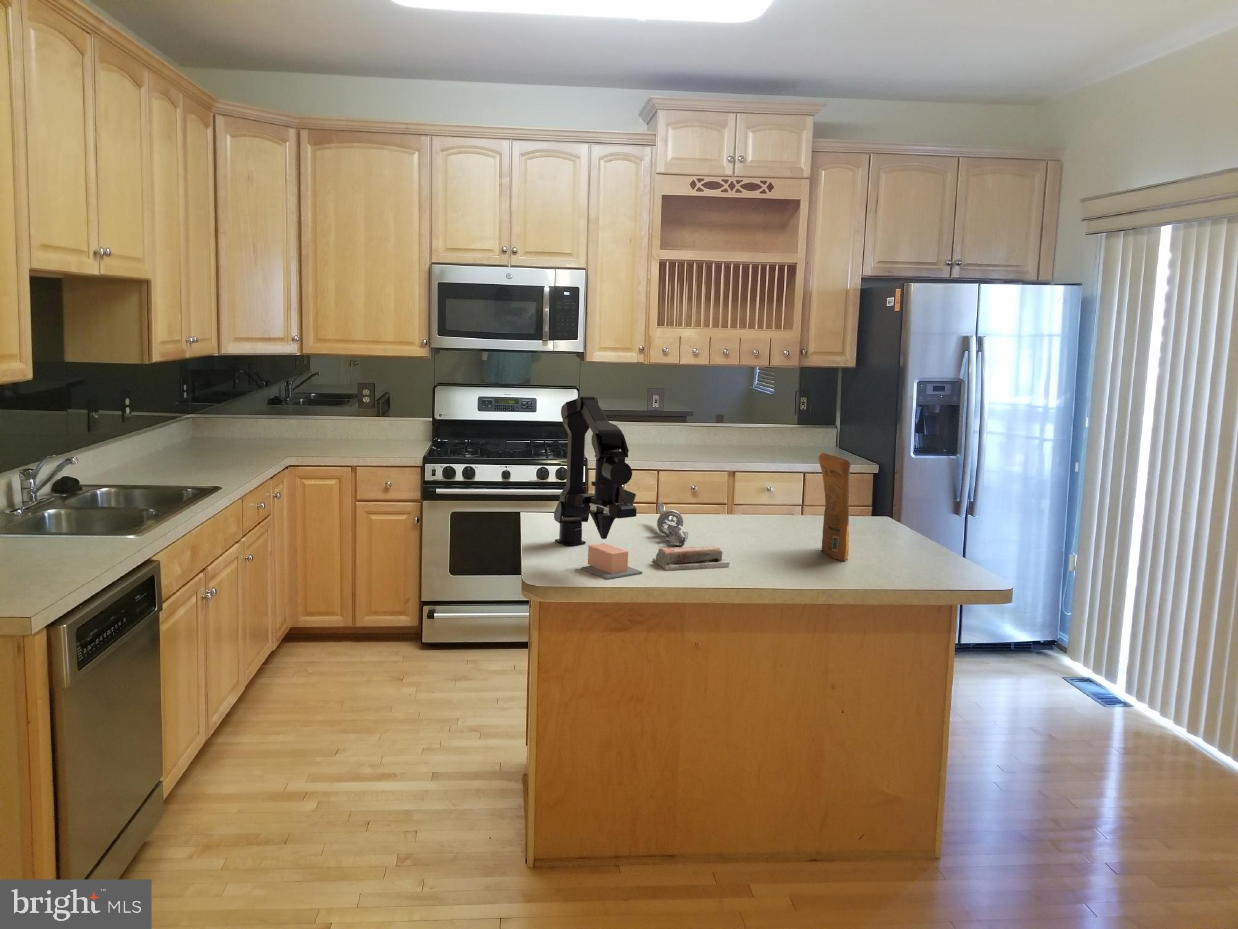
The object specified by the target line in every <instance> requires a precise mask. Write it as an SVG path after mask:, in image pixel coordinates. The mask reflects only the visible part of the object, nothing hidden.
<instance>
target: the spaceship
mask: <svg viewBox="0 0 1238 929" xmlns="http://www.w3.org/2000/svg"><path fill="white" fill-rule="evenodd" d="M656 506H657V507H656V508H657V509H656V510H657V513H658V514H659V516H658V518H657V519H656V520H657V521H656V527H657V530H658V532H660V533H661V534H662V535H664V536H667V537H668V538H667V539H668V541H669V542H670V543H671V542H672V543H674V544H677V545H679V547H685V543H686V542H688V537H689V532H688V531H687V530H686V528H684V527H683V526H684V518H683V516H682V514H681V513H680V512H678V511H676V510H673V509H668V510H666V508H665V505H664V503H663V502H658V503H657V505H656ZM674 518H675V519H674ZM665 527H666V528H665ZM681 530H682V531H681Z"/></svg>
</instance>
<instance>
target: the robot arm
mask: <svg viewBox="0 0 1238 929" xmlns="http://www.w3.org/2000/svg"><path fill="white" fill-rule="evenodd" d="M560 417H561V418H562V425H563V426H564V429H565V431H566V432H567V454H566V475H565V476H566V479H565V481H566V482H565V486H564V488H563V489H562V491H561V493H559V501H558V502H557V505H556V507H555V509H554V511H553V518H554V521H555V522H557V523H558V524H559V533H558V534H559V536H558V537H559V538H556V539H554V542H555V543H559V544H560V545H564V546H566V547H567V546H568V547H569V546H579V545H582V544H583V545H584V544H587V542H586V541H585V540H583V523H588V521H589V518H590V517H591V519H592V521H593V523H594V525H595V527H596V529H597V532H598V535H599V537H600V538H601V540H606V539H607V538H608V535H609V533H610V531H611V528H612V525H613V524H614V521H615V520H616V519H628V518H634V517H635V518H636V517H637V507H636V506H635V505H634V502H635V501H636V498H637V493H635V492H632V491H630V490H627V489H624V488H623V486H624V485H627V484H628V483H629V482H630V481H631V479H632V477H633V469H632V467H631V466H630V465H629V463H627V462H626V458H627V459H628V457H629V451H630V450H629V447H628V444H627V440H626V438H625V434H624V433H623V432H622V429H620V427H619V426H618V425H616V424H614V423H612V422H610V421H609V420H608V418H607V416H606V415H605V412H604V411H603V410H602V408H601V407H600V404H599V400H598V397H596V396H593V395H591V396H590V395H587V396H586V395H583V396H582V395H580V396H577V397H576V398H575V399H572V400H569V401H566V402H565V403H563V405H562V406H561V409H560ZM589 430H591V432H592V435H591V445H592V448H593V451H594V458H595V472H594V473H595V475H594V480H592V481H591V482H590V483H591V486H592V487H594V493H592V492H589V493H587V492H586V489H585V488H584V475H585V474H584V470H585V469H584V468H585V449H586V448H585V447H586V444H585V443H586V434H587V433H588V431H589Z"/></svg>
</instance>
